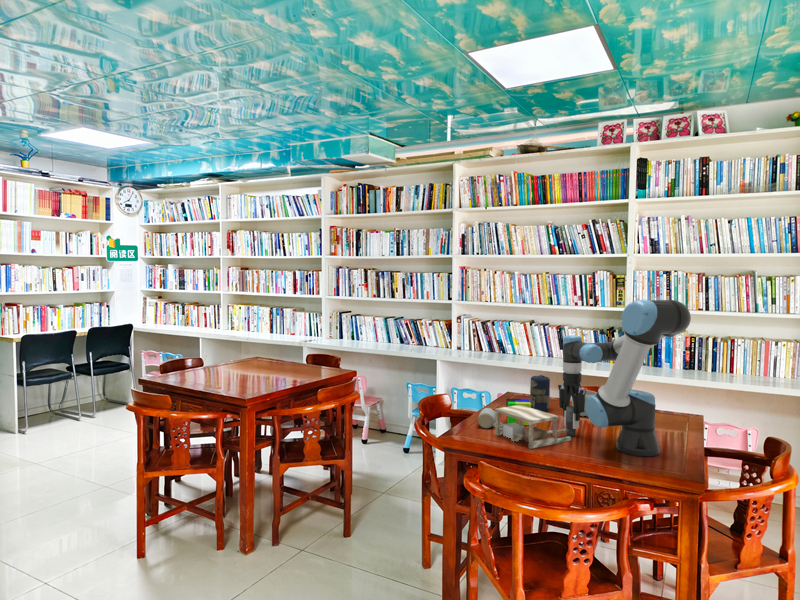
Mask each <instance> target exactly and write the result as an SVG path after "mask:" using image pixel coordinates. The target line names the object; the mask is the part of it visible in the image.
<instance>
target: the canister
mask: <svg viewBox="0 0 800 600" xmlns="http://www.w3.org/2000/svg"><path fill="white" fill-rule="evenodd" d="M529 383H530V387H529V393H530V395H529V401H530V403H531V408H533V409H536V410H539V411H543V412H548V411H549V410H550V398H551V397H550V395H551V390H550V389H551V388H550V387H551V386H550V385H551V379H550V377H548V376H545V375H543V374H539V375H534V376H533V375H532V376H531V377H530V382H529Z"/></svg>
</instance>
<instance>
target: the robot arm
mask: <svg viewBox="0 0 800 600" xmlns="http://www.w3.org/2000/svg"><path fill="white" fill-rule="evenodd" d="M691 316H692V315H691V313H690V310H689V308H688V307H687V305H685V304H684V303H682V302H681V301H678V300H675V299H658V300H657V299H653V300H652V299H650V300H649V299H639V300H633V301H631V302H630V303H628V304H627V305H626V306H625V307H624V309H623V311H622V314H621V320H622V321H621V326H622V329H623V335H621V336H620V337H618V338H616V339H614V340H612V341H609V342H607V341H606V342H584V341H583V337H582V336H580V335H573V334H572V335H571V334H570V335H565V336H564V337H563V343H562V371H563V372H562V381H563V382H562V384H558V385H557V387H558V396H559V397H558V398H559V404H558V405H559V408H560V409H562V411H563V415H562V417H563V418H564V421H563V425H564V427H566V406H571V405H570V403H571V400H572V397H573V404H574V411H575V412H573V429H576V430H577V429H579V428H580V426H579V424H580V420H581V416H580V413H582V412H584V408H585V394H586V390H587V389H583V387H582V385H581V382H582V366H583V365H582V363H583V362H585V363H588V364H597V363H598V362H610V361H611V362H612V361H613V362H614V363H613V366H612V368H611V370H610V373H609V375H608V377H607V380H606V382H605V384H603V385H601V386H600V387H599V388H598V390H597V394H596V396H590V397H588V398H587V401H586V411H587V415H588V419H589V421H590V422H591V424H592V425H593V426H595V427H598V428H601V427H602V428H603V427H604V428H607V427H618V426H619V427H621V430H620V431H619V432H620V433H619V435H618V437H617V440H616V450H618V451H619V452H621V453H624V454H627V455H631V456H636V457H655V456H658V455H659V454H660V446H659V442H658V439H657V436H656V432H655V431H656V425H655V424H656V406H657V405H656V397H655V395H654V394H653V393H650V392H647V391H642V390H637V389H632V388H633V386H634V384H635V381H636V379H637V377H638V376H639V373H640V371H641V370H642V369H641V368H642V367H643V365H644V362H645V361H646V358H647V356H648V355H649V351H650V349H651V348H652V346H657V345H658V343H659V341H660V340H662V339H663V338H673V337H674V336H677V335H679V334H681V333H683V332H684V331H686V329H688V327H689V326H690V323H691V319H692V318H691ZM575 394H576V395H575Z"/></svg>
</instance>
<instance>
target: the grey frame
mask: <svg viewBox="0 0 800 600" xmlns="http://www.w3.org/2000/svg"><path fill="white" fill-rule="evenodd" d="M573 412H575V411H574V406H572V405H569V406H566V426H565V428H563V429H557V434H561V433H565V436H566V437H568V436H569V437H576V436H577V428H576V429H573ZM547 431H548V430H546V429H543V428H541V427H540V428H539V427H537V426H533V441H536V440H541V439H546V438H548V436H551V434H552V435H553V430H552V431H551V432H547ZM524 433H525V440H524V441H525V442H526V443H528V442H529V427H528V428H524Z"/></svg>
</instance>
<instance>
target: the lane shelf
mask: <svg viewBox="0 0 800 600" xmlns="http://www.w3.org/2000/svg"><path fill="white" fill-rule="evenodd" d="M494 411H495V413H496V423H495V424H496V427H495V436H497V437H499V436H503V435H502V434H503V427H502V428H500V422H501V420H500V419H501V416H500V415H504V416H506V415H507V416H510V417H513V418H515V419H518V420H519V425H522V426H523V421H524V422H527V423H529V426H528V428H529V443H528V449H529V450H532V449H537V448H543V447H546V446H552V445H556V444H560V443H565V442H570V441H572V436H564V437H558V433H557V430H558V420H559V416H558V415H556V414H553V413H549V412H547V411H539V410H536V409H533V408H530V407H526V406H523V405H516V406H509V407H506V406H504V407H499V408H494ZM549 421H552V430H546V431H547V432H551V431H553V434H552V436H551V437H547V438H546V439H541V440H536V441H533V427H534V424H539V423H543V422H544V423H545V422H549ZM519 440H521V441H525V432H524V433H521V434H516V435H512V439H511V442H512V441H513V442H512V443H515V442H514V441H516V442H520V441H519Z"/></svg>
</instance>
